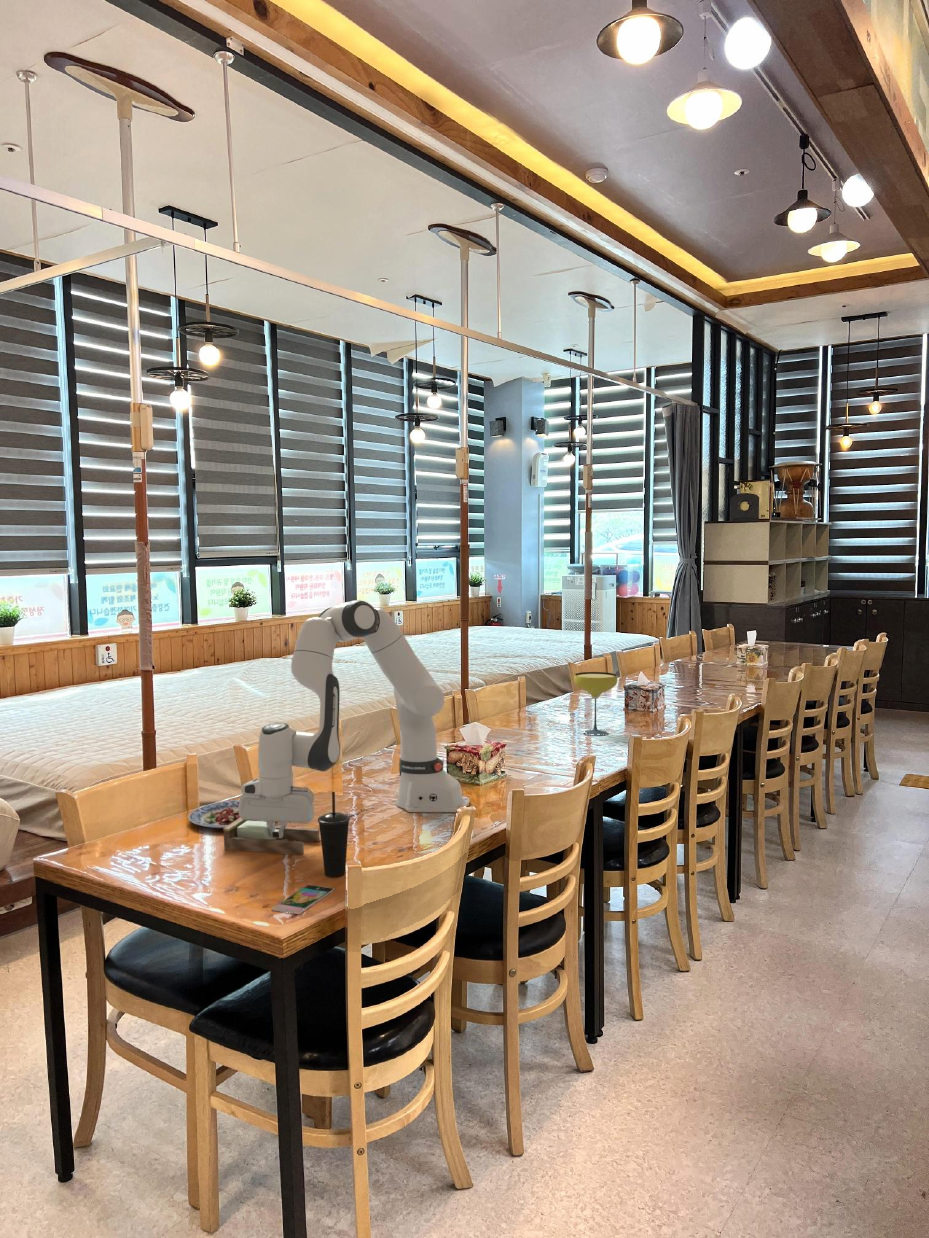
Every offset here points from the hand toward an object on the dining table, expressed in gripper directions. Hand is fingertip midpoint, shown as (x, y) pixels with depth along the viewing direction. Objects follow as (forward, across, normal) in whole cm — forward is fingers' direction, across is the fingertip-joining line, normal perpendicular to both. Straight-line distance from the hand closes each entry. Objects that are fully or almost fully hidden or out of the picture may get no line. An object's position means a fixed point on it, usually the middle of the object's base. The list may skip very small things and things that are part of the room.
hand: (277, 837), depth 227 cm
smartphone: (+3, -21, +32) cm, 38 cm away
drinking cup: (+2, -22, +16) cm, 28 cm away
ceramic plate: (+3, +22, -18) cm, 28 cm away
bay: (+2, +1, 0) cm, 2 cm away
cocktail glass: (+2, -72, -158) cm, 174 cm away
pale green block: (+2, +6, 0) cm, 6 cm away
